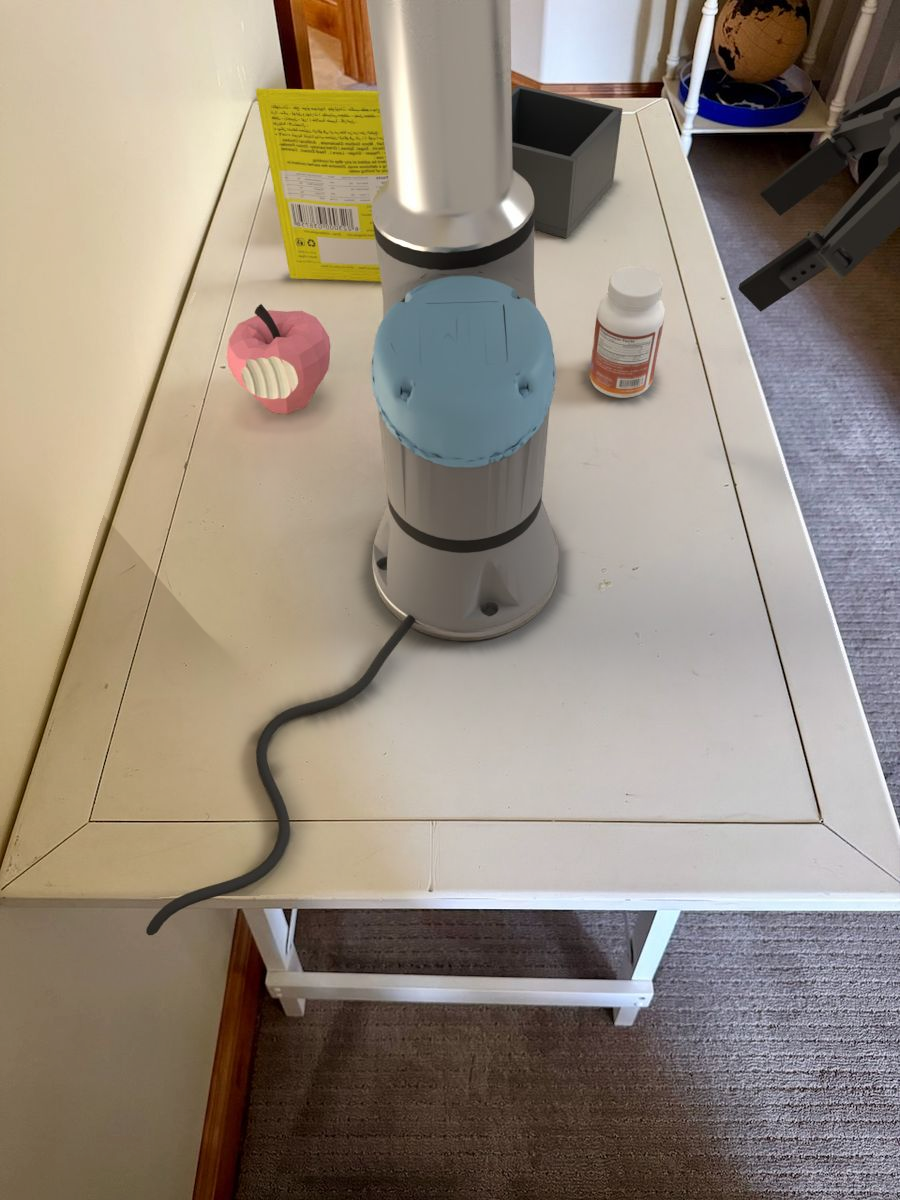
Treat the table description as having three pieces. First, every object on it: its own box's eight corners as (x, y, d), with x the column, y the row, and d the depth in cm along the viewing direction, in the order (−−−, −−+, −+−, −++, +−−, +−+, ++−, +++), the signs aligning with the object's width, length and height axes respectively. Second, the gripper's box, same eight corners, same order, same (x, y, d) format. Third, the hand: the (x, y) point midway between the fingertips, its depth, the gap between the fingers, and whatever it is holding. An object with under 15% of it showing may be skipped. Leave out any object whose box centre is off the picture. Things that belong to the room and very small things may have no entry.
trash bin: (566, 238, 104) (573, 161, 96) (463, 209, 108) (462, 133, 101) (613, 184, 111) (622, 108, 103) (514, 158, 115) (517, 84, 108)
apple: (229, 427, 85) (204, 340, 77) (254, 369, 90) (233, 281, 82) (328, 436, 84) (312, 348, 76) (347, 376, 90) (335, 288, 82)
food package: (427, 281, 99) (418, 89, 83) (426, 287, 98) (417, 95, 82) (291, 275, 100) (256, 86, 84) (289, 281, 100) (254, 91, 84)
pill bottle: (614, 351, 91) (629, 252, 82) (664, 377, 88) (685, 277, 80) (575, 381, 88) (587, 282, 80) (626, 409, 86) (644, 309, 77)
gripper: (1075, 195, 53) (772, 374, 69) (1054, 10, 66) (804, 197, 82) (1004, 101, 50) (707, 310, 66) (997, -71, 63) (751, 138, 80)
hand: (760, 248), depth 74 cm, fingers open, 13 cm apart
